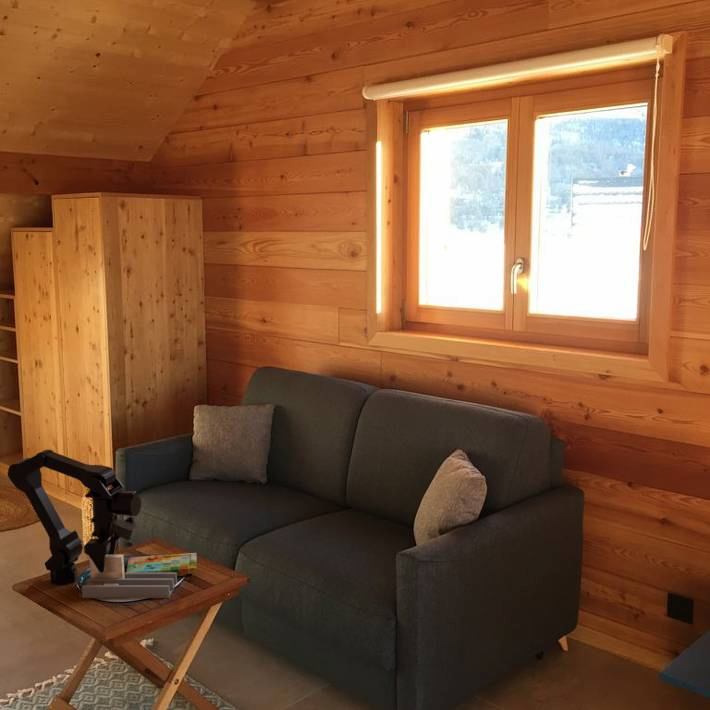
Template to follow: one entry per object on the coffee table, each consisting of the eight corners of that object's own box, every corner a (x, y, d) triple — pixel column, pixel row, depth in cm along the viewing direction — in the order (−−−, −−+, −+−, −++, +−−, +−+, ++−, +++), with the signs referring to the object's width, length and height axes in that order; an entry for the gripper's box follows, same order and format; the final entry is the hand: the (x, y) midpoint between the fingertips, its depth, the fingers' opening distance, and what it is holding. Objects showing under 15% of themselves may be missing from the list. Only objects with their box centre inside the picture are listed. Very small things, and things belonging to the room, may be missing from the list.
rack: (82, 602, 242) (81, 587, 241) (93, 587, 252) (92, 572, 251) (169, 602, 241) (168, 587, 241) (177, 587, 251) (176, 572, 251)
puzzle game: (128, 555, 264) (196, 550, 267) (129, 570, 264) (196, 564, 268) (125, 571, 252) (196, 565, 256) (126, 586, 253) (197, 580, 257)
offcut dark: (86, 594, 244) (85, 585, 243) (88, 590, 246) (88, 582, 246) (100, 594, 244) (100, 585, 243) (103, 590, 246) (102, 582, 245)
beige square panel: (91, 587, 248) (89, 557, 247) (93, 584, 250) (91, 554, 249) (123, 587, 248) (121, 557, 246) (125, 584, 250) (123, 554, 248)
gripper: (122, 524, 236) (125, 579, 239) (141, 501, 254) (143, 552, 257) (81, 524, 236) (85, 579, 239) (103, 501, 255) (105, 552, 257)
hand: (106, 565), depth 248 cm, fingers open, 9 cm apart
